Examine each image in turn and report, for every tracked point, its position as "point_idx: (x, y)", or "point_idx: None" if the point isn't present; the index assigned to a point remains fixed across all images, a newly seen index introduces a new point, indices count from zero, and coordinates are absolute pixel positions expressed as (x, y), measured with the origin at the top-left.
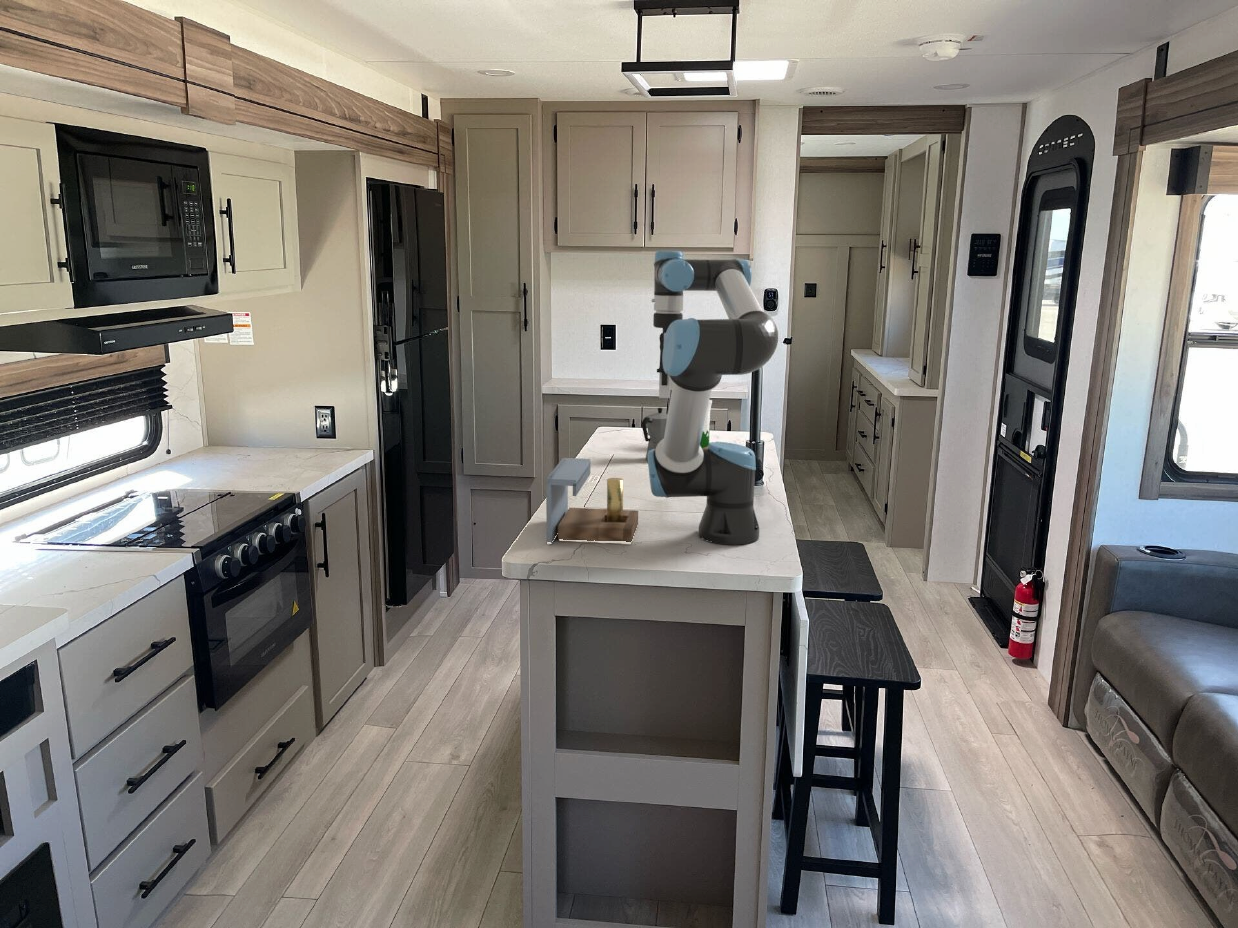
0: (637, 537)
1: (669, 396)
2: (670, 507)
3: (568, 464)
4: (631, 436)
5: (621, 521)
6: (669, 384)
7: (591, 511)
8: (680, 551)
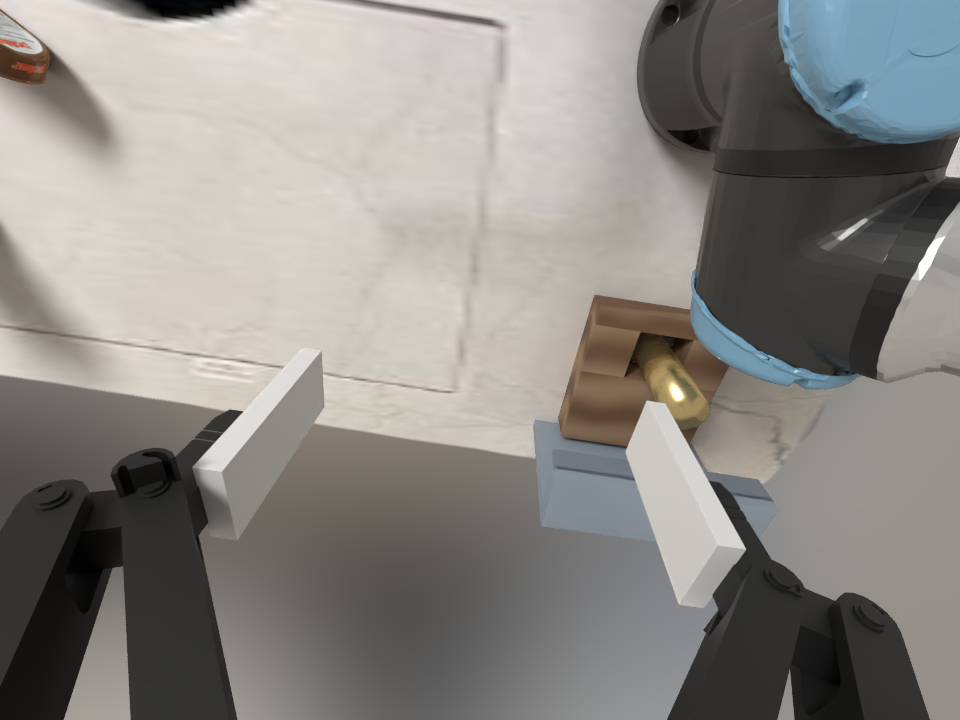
0: (681, 300)
1: (668, 410)
2: (446, 205)
3: (613, 518)
4: None
5: (668, 345)
6: (698, 469)
7: (595, 400)
8: None
